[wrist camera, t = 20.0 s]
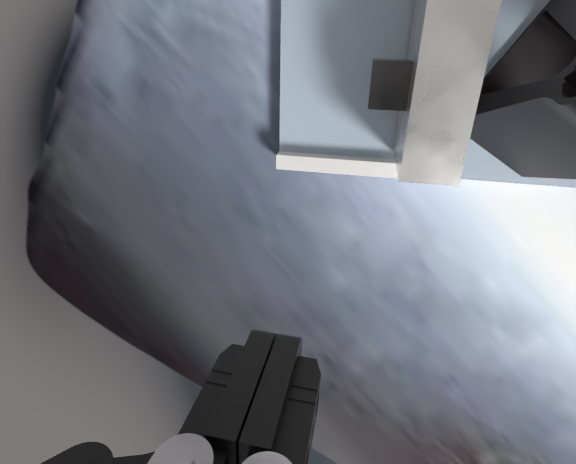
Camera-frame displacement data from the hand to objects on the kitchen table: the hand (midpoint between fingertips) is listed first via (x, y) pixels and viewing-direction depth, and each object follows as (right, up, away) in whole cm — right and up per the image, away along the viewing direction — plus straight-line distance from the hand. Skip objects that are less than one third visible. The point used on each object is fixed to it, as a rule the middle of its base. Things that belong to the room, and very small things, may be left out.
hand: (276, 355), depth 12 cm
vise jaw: (+8, +13, +12) cm, 19 cm away
